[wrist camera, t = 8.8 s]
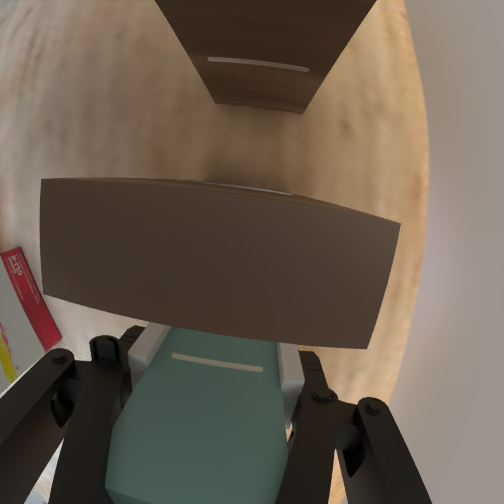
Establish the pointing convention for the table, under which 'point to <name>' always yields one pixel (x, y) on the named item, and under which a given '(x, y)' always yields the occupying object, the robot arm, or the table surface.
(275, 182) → the table surface
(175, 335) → the domino
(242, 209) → the domino
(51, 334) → the ink box
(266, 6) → the domino
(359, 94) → the table surface
